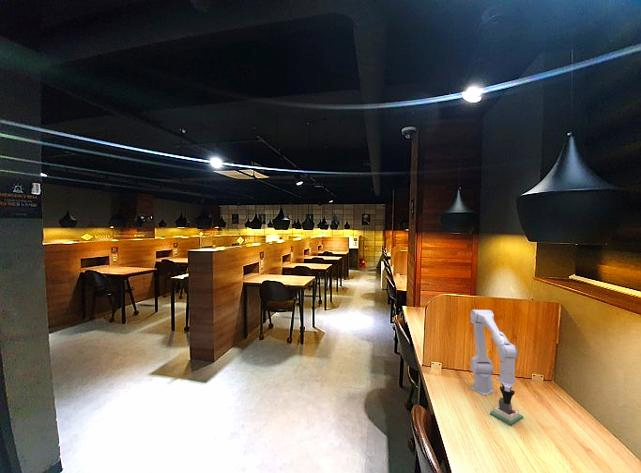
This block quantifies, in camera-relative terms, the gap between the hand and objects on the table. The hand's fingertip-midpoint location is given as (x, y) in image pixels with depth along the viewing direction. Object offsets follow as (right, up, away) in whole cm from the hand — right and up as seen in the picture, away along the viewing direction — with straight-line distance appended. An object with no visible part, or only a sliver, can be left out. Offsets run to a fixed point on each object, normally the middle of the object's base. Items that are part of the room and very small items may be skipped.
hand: (506, 399), depth 129 cm
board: (0, -8, 0) cm, 8 cm away
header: (0, -8, 0) cm, 8 cm away
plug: (0, -6, 0) cm, 6 cm away
